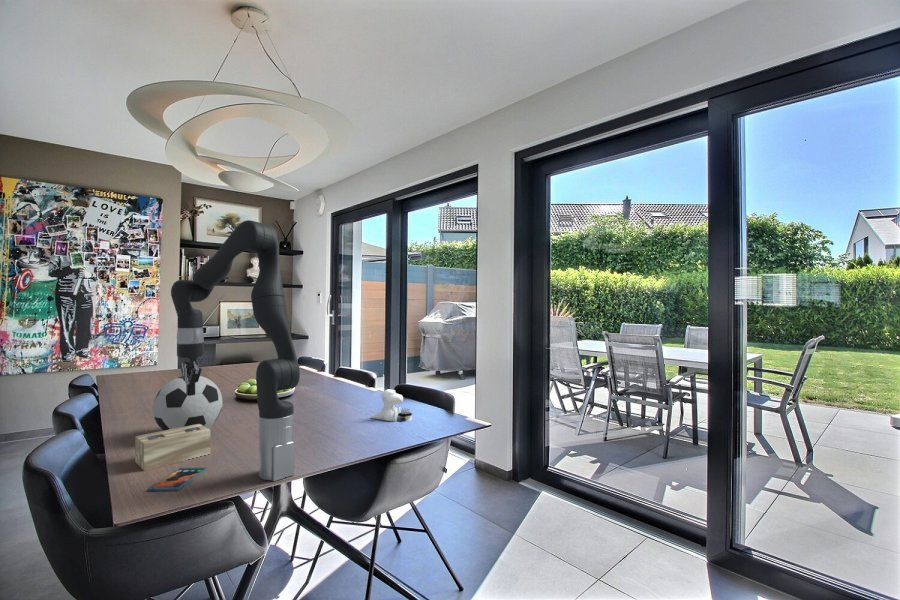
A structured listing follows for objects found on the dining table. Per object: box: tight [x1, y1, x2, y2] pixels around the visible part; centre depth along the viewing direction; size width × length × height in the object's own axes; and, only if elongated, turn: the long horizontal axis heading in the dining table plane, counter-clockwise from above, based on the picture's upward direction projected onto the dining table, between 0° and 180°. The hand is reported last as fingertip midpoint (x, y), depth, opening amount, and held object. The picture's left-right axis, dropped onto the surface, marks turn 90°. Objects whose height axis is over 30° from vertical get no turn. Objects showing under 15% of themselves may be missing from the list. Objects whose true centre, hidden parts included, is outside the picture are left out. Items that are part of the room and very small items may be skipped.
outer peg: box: [148, 435, 162, 440], centre depth 134 cm, size 4×4×7 cm
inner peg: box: [185, 428, 198, 432], centre depth 141 cm, size 4×4×7 cm
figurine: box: [370, 388, 414, 422], centre depth 182 cm, size 8×18×12 cm, turn 81°
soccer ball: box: [152, 375, 223, 431], centre depth 160 cm, size 22×22×22 cm
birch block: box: [134, 424, 211, 472], centre depth 137 cm, size 10×18×8 cm, turn 138°
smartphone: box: [147, 467, 208, 492], centre depth 122 cm, size 8×1×15 cm
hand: (190, 395), depth 141 cm, fingers closed
